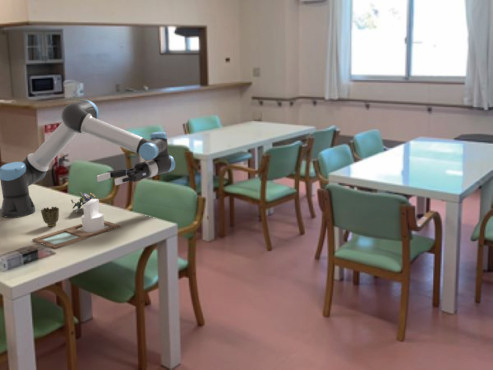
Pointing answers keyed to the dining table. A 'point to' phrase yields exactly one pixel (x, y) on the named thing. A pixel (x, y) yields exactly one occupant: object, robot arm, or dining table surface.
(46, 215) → the cup
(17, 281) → the dining table surface
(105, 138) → the robot arm
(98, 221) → the base with upright slab
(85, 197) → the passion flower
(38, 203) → the dining table surface
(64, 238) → the frame with rectangular openings
